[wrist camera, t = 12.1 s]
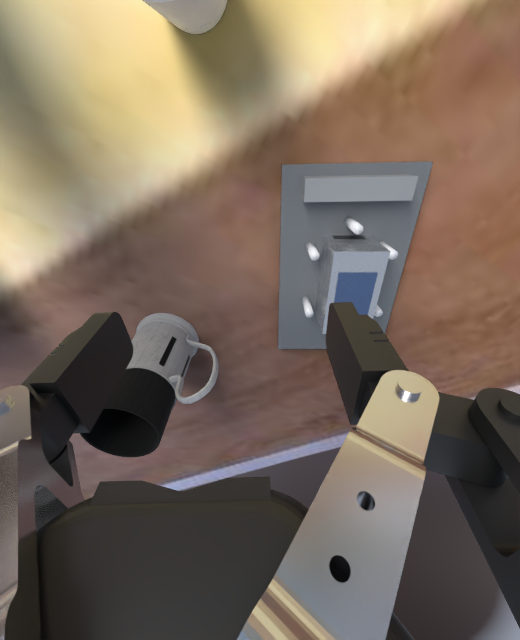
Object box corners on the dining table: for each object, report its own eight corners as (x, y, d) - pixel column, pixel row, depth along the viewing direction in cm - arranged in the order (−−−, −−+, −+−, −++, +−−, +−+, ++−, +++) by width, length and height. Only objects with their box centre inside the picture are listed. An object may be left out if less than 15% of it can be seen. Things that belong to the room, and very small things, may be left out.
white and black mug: (122, 326, 37) (48, 419, 24) (212, 287, 33) (180, 370, 21) (161, 370, 41) (115, 468, 28) (244, 338, 38) (233, 434, 25)
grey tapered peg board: (281, 164, 26) (284, 166, 22) (426, 161, 26) (455, 163, 22) (277, 343, 38) (279, 366, 34) (377, 343, 38) (390, 365, 34)
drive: (322, 234, 29) (334, 251, 24) (370, 234, 29) (391, 251, 24) (314, 308, 33) (322, 334, 29) (354, 308, 33) (369, 334, 29)
